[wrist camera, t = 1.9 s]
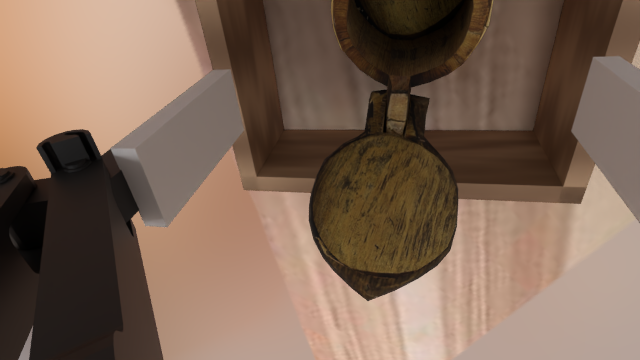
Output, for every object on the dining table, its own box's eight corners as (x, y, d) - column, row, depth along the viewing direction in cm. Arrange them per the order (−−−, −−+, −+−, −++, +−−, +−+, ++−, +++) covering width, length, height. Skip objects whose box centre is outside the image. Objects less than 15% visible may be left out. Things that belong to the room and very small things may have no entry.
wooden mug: (331, 103, 30) (255, 284, 15) (341, -117, 22) (202, -170, 7) (449, 115, 28) (487, 326, 14) (505, -114, 21) (722, -170, 6)
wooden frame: (217, -154, 22) (149, -176, 16) (648, -228, 17) (760, -294, 12) (272, 142, 33) (243, 190, 27) (547, 145, 28) (580, 203, 23)
